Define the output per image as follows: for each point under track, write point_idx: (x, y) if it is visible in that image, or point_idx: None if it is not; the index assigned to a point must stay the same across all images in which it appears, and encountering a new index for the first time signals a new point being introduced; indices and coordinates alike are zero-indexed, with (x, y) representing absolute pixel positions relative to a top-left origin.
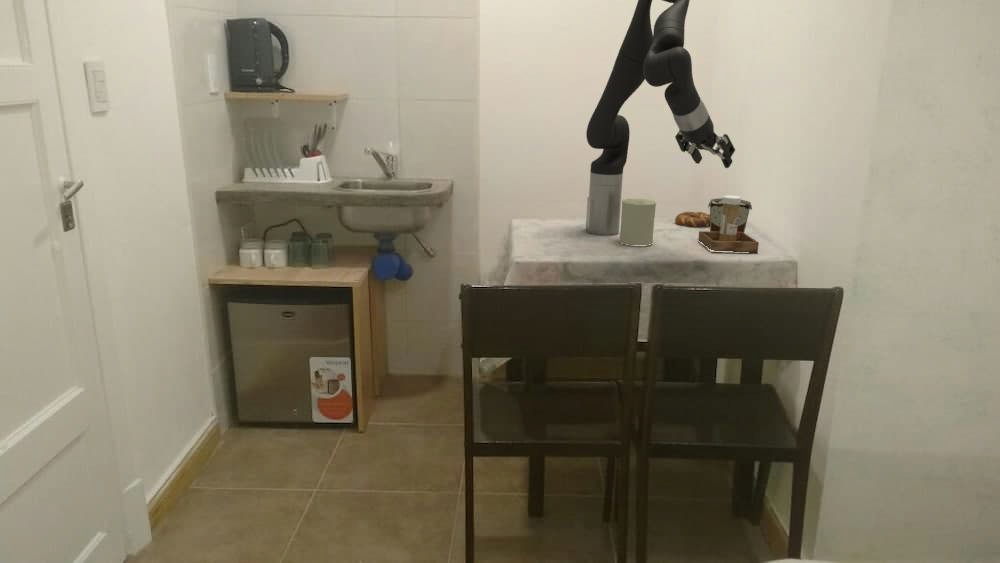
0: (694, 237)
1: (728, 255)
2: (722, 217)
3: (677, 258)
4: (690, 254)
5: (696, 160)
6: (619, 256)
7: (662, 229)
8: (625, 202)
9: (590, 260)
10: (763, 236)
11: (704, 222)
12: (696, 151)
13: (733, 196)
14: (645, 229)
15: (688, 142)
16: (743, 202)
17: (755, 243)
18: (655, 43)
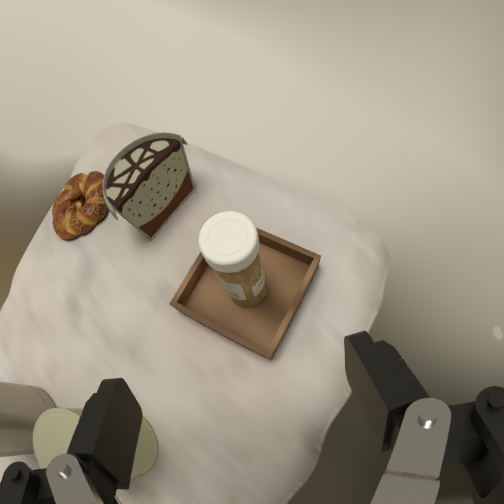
0: (146, 286)
1: (304, 339)
2: (230, 286)
3: (273, 465)
4: (258, 415)
5: (136, 441)
6: None
7: (71, 295)
8: None
9: None
10: (214, 156)
11: (103, 204)
12: (108, 464)
13: (229, 232)
14: (138, 461)
15: (28, 499)
16: (155, 137)
17: (317, 263)
18: None
